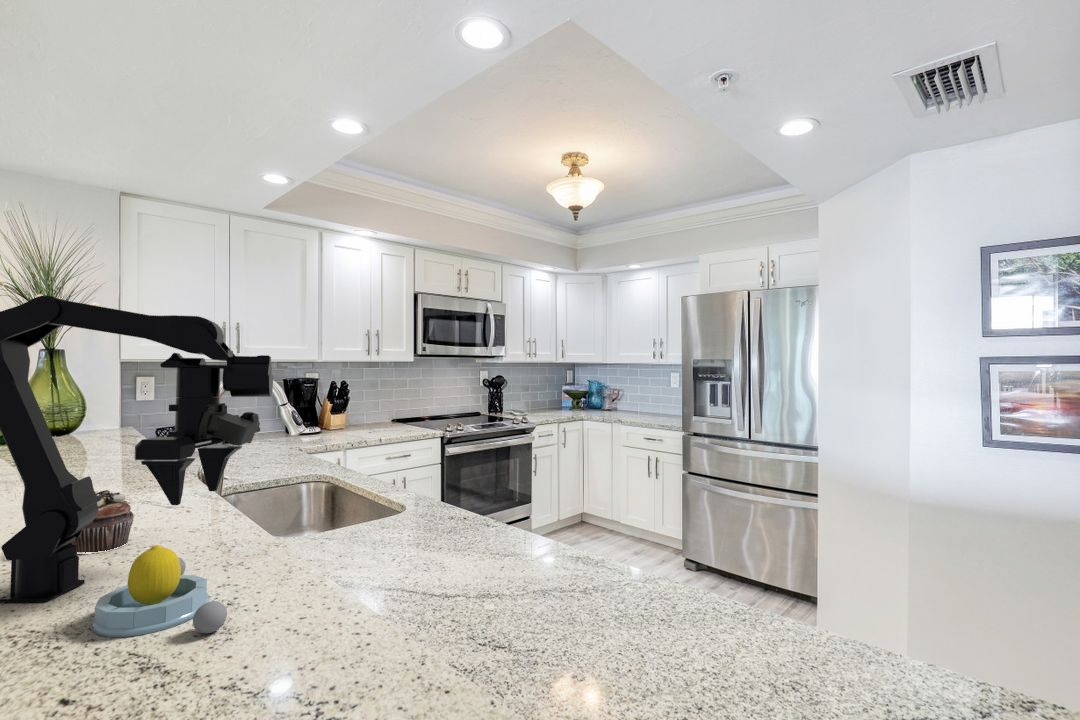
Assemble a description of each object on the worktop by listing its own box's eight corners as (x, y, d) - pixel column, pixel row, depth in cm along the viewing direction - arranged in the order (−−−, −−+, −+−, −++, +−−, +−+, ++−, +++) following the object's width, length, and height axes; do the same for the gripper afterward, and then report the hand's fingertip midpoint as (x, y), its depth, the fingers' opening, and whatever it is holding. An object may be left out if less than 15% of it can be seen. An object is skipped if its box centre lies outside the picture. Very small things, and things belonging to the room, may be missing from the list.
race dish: (65, 638, 60) (66, 614, 60) (140, 594, 72) (140, 574, 72) (170, 636, 61) (170, 612, 61) (227, 593, 73) (227, 573, 73)
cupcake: (146, 541, 96) (148, 487, 96) (91, 558, 86) (93, 499, 87) (106, 537, 98) (108, 484, 98) (48, 554, 89) (50, 496, 89)
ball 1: (151, 585, 76) (151, 561, 76) (167, 576, 79) (167, 553, 79) (175, 585, 76) (176, 561, 76) (190, 576, 79) (191, 553, 79)
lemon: (151, 619, 63) (153, 554, 64) (115, 614, 65) (117, 550, 65) (190, 600, 69) (192, 540, 69) (156, 596, 70) (158, 537, 70)
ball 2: (185, 639, 60) (186, 609, 60) (203, 624, 64) (204, 596, 64) (216, 638, 60) (216, 608, 60) (232, 624, 64) (233, 596, 64)
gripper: (215, 400, 71) (212, 513, 71) (278, 395, 90) (276, 484, 89) (133, 400, 71) (129, 513, 70) (213, 395, 90) (210, 485, 89)
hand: (195, 497), depth 80 cm, fingers open, 9 cm apart
